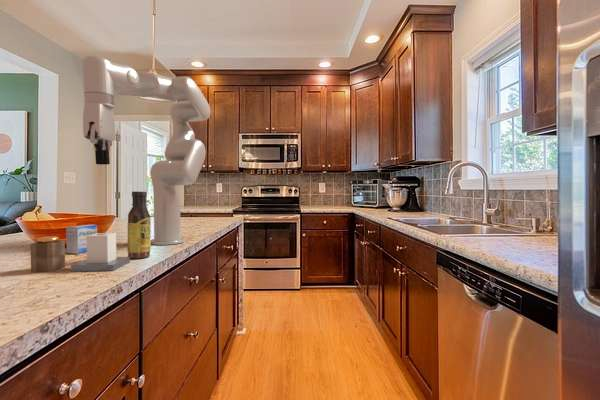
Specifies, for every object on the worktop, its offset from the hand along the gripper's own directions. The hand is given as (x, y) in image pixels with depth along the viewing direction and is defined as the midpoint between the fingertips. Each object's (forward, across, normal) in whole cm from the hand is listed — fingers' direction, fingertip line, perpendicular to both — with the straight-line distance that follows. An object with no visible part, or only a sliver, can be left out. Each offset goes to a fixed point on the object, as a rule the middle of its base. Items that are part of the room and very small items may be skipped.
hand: (102, 164), depth 98 cm
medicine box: (+28, -9, -12) cm, 32 cm away
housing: (+26, +14, +5) cm, 30 cm away
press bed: (+27, +14, +5) cm, 31 cm away
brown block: (+27, +16, -7) cm, 32 cm away
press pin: (+26, +16, -7) cm, 31 cm away
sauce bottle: (+28, +2, +10) cm, 30 cm away
